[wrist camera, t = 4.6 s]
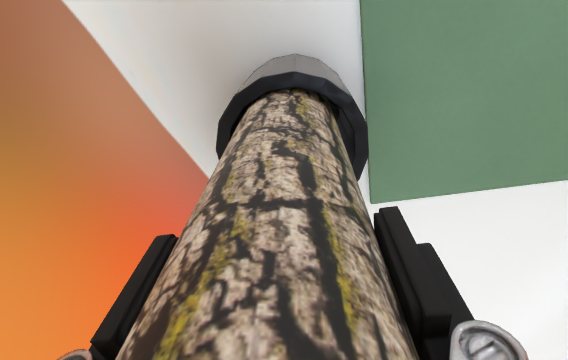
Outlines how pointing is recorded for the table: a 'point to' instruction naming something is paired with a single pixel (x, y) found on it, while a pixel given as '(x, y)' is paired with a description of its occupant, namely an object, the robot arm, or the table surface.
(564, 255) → the table surface
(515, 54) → the mat
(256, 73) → the pen pot
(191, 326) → the paper tube
